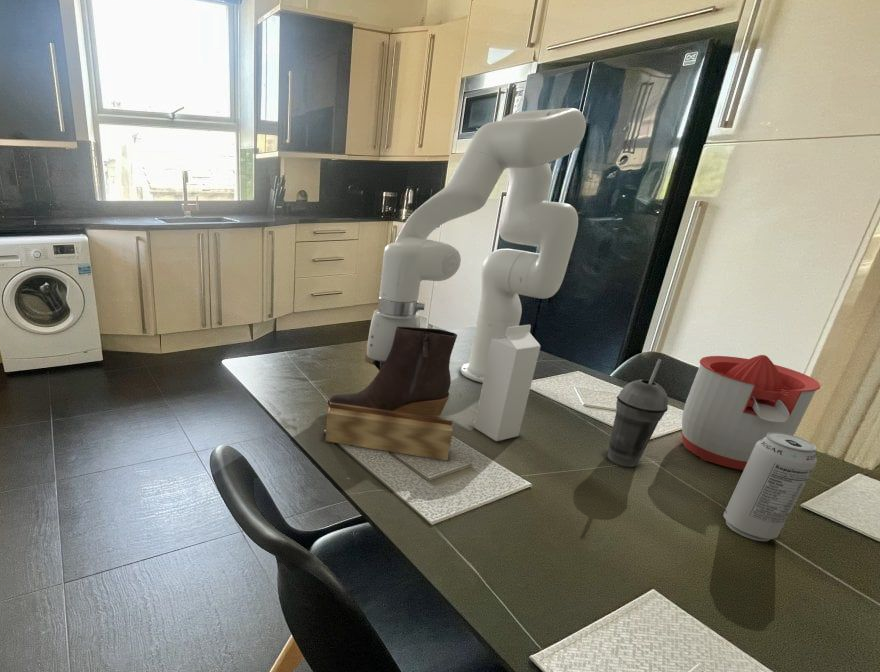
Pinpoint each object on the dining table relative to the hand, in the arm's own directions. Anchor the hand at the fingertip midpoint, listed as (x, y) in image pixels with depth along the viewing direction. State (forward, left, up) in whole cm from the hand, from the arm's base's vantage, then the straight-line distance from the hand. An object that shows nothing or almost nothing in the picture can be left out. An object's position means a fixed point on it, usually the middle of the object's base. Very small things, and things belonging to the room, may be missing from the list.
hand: (387, 390), depth 103 cm
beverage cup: (-43, +8, -4) cm, 44 cm away
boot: (0, +5, -4) cm, 7 cm away
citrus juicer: (-62, +1, -4) cm, 62 cm away
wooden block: (-1, +17, -4) cm, 17 cm away
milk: (-22, +4, -4) cm, 23 cm away
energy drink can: (-54, +24, -4) cm, 59 cm away
